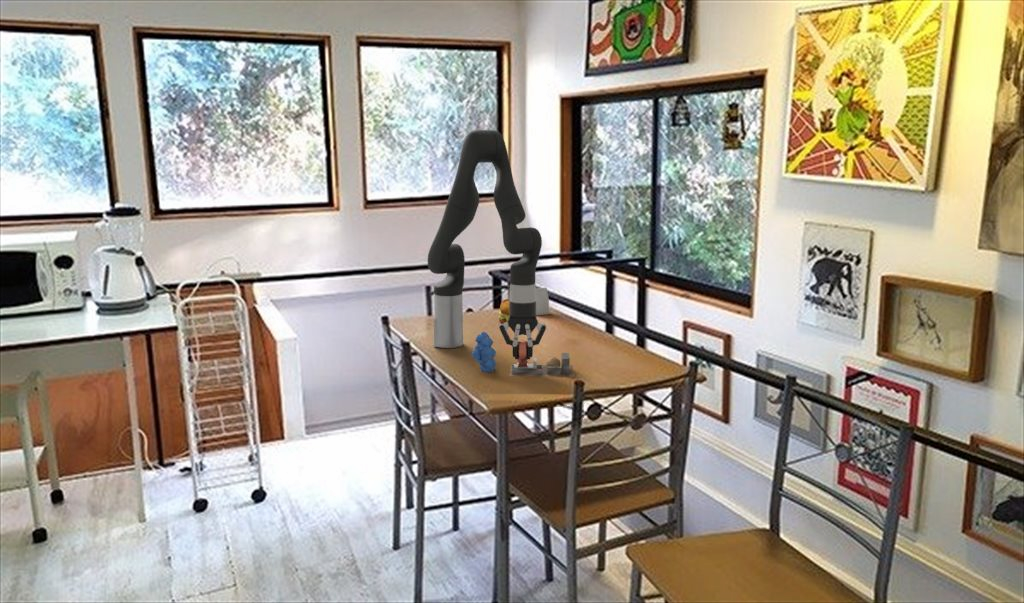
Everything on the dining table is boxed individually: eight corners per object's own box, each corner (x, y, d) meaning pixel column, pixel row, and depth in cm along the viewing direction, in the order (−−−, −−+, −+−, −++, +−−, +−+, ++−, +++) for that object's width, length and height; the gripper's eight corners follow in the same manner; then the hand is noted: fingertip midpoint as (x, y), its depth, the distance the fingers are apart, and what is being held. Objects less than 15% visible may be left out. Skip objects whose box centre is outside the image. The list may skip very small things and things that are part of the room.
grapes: (464, 369, 223) (464, 329, 221) (486, 366, 226) (485, 327, 223) (479, 380, 213) (478, 339, 210) (501, 377, 215) (501, 336, 213)
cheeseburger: (522, 317, 289) (524, 293, 285) (526, 330, 280) (528, 306, 275) (496, 317, 288) (497, 293, 283) (499, 330, 278) (500, 306, 274)
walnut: (546, 372, 215) (546, 359, 214) (546, 368, 219) (546, 355, 218) (560, 372, 215) (560, 359, 214) (560, 368, 219) (560, 355, 218)
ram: (513, 371, 215) (513, 343, 213) (513, 367, 219) (513, 339, 217) (536, 371, 215) (536, 343, 213) (536, 367, 219) (536, 340, 217)
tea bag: (548, 313, 295) (548, 288, 293) (533, 315, 292) (533, 290, 290) (544, 312, 298) (544, 287, 296) (528, 313, 296) (528, 288, 294)
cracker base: (509, 381, 212) (509, 360, 211) (510, 369, 223) (510, 350, 221) (574, 381, 212) (574, 361, 210) (572, 370, 222) (572, 350, 221)
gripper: (497, 301, 209) (497, 362, 213) (548, 302, 209) (547, 362, 212) (498, 296, 216) (498, 355, 220) (547, 296, 216) (547, 355, 220)
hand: (522, 358), depth 216 cm, fingers closed on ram, 3 cm apart
